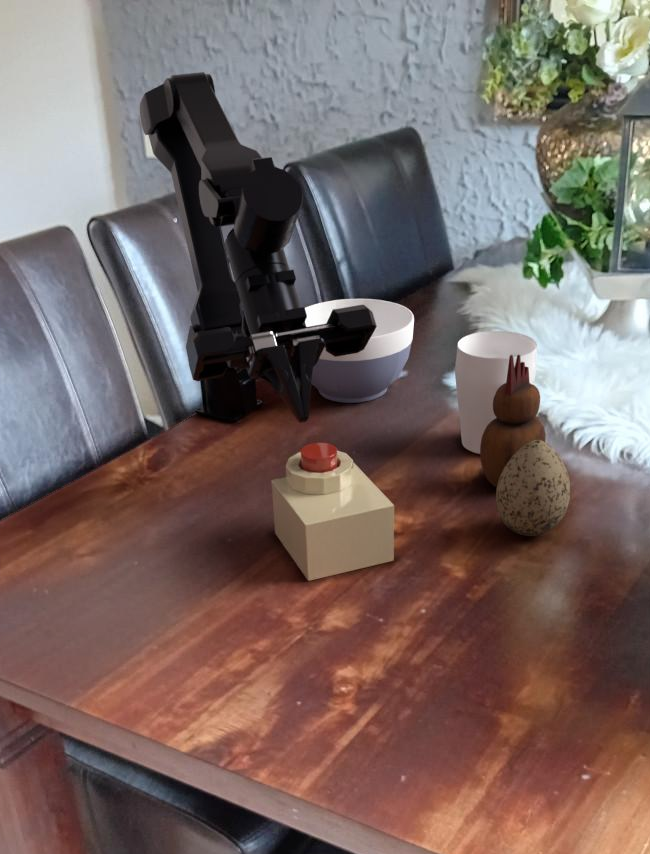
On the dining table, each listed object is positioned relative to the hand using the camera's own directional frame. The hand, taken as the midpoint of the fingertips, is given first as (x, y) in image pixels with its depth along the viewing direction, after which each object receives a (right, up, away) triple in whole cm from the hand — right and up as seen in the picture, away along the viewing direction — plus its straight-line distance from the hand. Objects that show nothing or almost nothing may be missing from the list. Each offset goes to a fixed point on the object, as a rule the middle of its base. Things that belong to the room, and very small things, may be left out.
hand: (304, 420), depth 100 cm
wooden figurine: (+23, -5, +10) cm, 25 cm away
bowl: (+7, +11, +34) cm, 36 cm away
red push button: (+1, -5, -1) cm, 5 cm away
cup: (+22, +1, +18) cm, 29 cm away
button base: (+3, -13, +1) cm, 13 cm away
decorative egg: (+23, -11, +1) cm, 25 cm away
